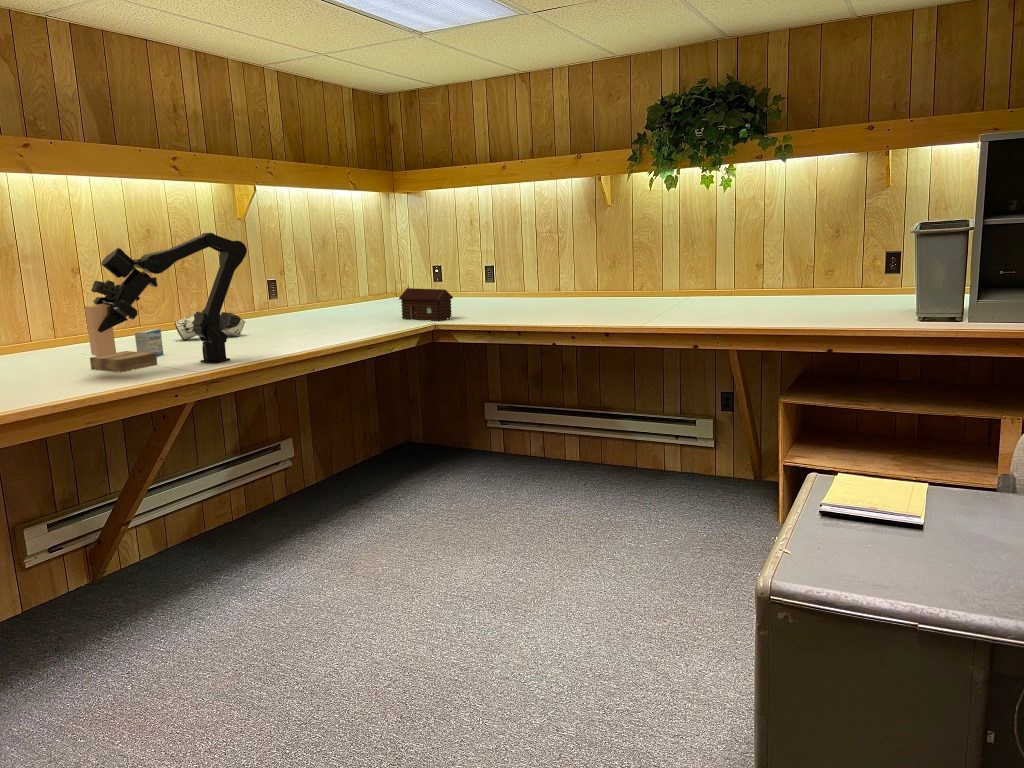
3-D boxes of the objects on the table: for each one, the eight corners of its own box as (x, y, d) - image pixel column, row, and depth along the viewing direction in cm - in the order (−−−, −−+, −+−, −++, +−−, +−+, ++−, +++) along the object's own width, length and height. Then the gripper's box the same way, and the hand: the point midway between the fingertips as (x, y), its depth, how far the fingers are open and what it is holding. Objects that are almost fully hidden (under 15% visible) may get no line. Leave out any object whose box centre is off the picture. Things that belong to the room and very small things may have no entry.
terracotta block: (109, 351, 230) (103, 303, 227) (116, 353, 226) (109, 305, 223) (91, 354, 226) (84, 305, 223) (97, 356, 223) (90, 307, 220)
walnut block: (157, 365, 246) (156, 353, 245) (122, 373, 234) (120, 360, 233) (127, 363, 251) (126, 350, 250) (91, 370, 239) (89, 357, 238)
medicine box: (149, 358, 256) (146, 332, 255) (137, 358, 257) (134, 332, 255) (163, 354, 264) (161, 328, 262) (151, 354, 265) (149, 328, 263)
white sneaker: (178, 343, 289) (175, 316, 287) (174, 340, 298) (171, 313, 296) (249, 337, 302) (246, 311, 300) (243, 334, 311) (240, 309, 309)
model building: (400, 319, 349) (398, 285, 346) (415, 316, 359) (414, 283, 356) (439, 321, 340) (437, 287, 336) (453, 318, 349) (452, 284, 346)
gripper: (96, 269, 230) (60, 310, 225) (120, 271, 218) (83, 314, 212) (127, 293, 238) (93, 334, 232) (152, 297, 225) (117, 340, 219)
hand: (95, 330), depth 224 cm, fingers closed on terracotta block, 5 cm apart
